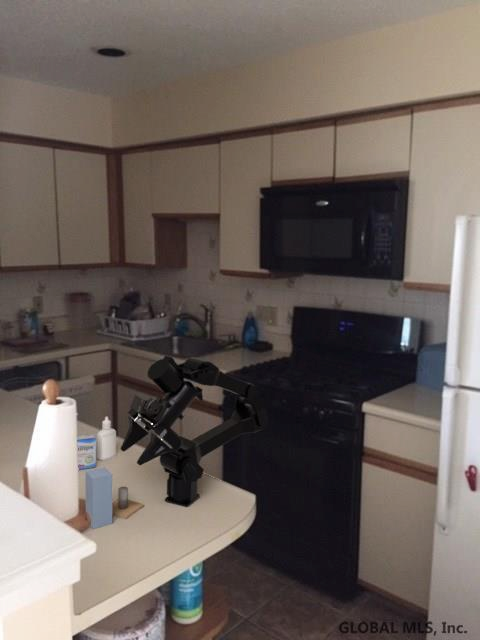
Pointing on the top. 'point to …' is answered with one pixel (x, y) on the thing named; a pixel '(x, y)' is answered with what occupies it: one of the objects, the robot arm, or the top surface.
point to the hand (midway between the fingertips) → (129, 457)
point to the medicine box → (86, 451)
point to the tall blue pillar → (99, 497)
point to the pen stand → (124, 505)
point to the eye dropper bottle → (106, 441)
